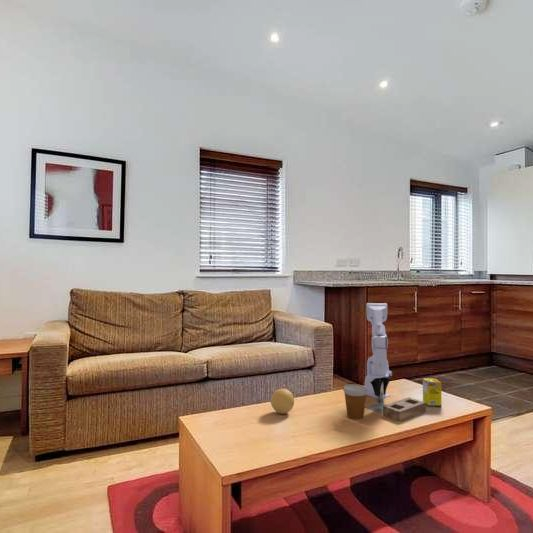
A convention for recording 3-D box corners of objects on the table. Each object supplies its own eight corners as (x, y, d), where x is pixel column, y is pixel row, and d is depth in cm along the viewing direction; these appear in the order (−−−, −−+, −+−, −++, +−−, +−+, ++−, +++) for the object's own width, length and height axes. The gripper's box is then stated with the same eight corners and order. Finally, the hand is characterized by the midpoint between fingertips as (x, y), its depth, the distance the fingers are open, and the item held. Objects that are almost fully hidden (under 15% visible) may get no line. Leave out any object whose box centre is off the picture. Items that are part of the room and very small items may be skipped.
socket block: (383, 415, 153) (383, 406, 153) (408, 406, 164) (408, 397, 164) (400, 422, 147) (400, 411, 147) (425, 411, 157) (425, 402, 157)
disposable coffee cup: (370, 421, 147) (370, 391, 148) (346, 421, 147) (346, 391, 148) (363, 412, 157) (363, 383, 157) (341, 412, 157) (341, 383, 157)
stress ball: (290, 420, 151) (303, 400, 157) (275, 404, 149) (288, 384, 154) (276, 416, 160) (289, 397, 165) (262, 401, 157) (275, 382, 162)
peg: (375, 401, 162) (374, 380, 162) (379, 400, 164) (379, 379, 164) (380, 403, 160) (380, 382, 160) (385, 402, 161) (385, 381, 162)
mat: (365, 408, 162) (365, 407, 162) (379, 403, 168) (379, 402, 168) (382, 414, 155) (382, 413, 155) (397, 409, 161) (397, 408, 161)
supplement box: (441, 407, 163) (441, 382, 163) (428, 407, 163) (427, 382, 163) (436, 402, 169) (435, 378, 169) (422, 402, 169) (422, 378, 169)
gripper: (376, 368, 154) (377, 401, 154) (397, 362, 163) (398, 393, 163) (363, 364, 160) (363, 396, 160) (384, 359, 169) (384, 389, 169)
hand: (380, 394), depth 162 cm, fingers closed on peg, 3 cm apart
